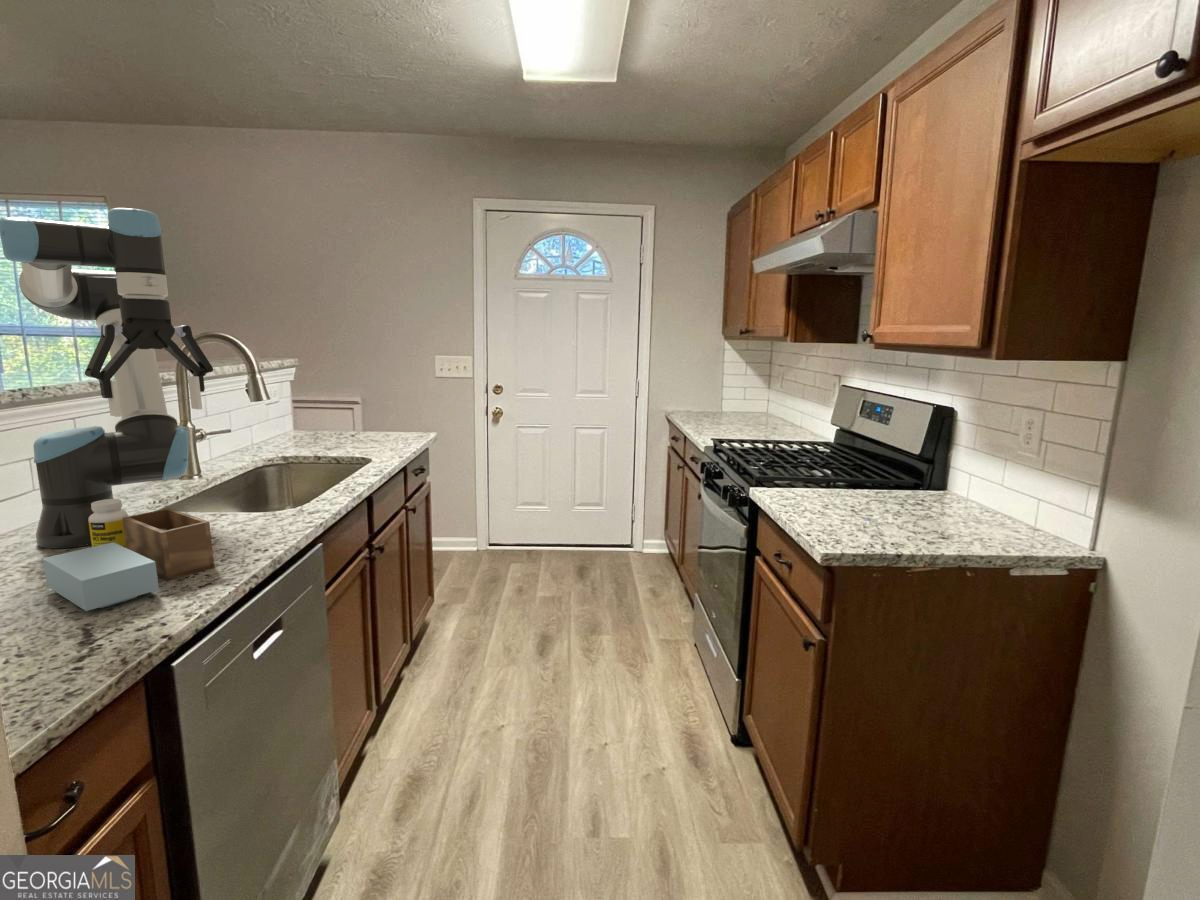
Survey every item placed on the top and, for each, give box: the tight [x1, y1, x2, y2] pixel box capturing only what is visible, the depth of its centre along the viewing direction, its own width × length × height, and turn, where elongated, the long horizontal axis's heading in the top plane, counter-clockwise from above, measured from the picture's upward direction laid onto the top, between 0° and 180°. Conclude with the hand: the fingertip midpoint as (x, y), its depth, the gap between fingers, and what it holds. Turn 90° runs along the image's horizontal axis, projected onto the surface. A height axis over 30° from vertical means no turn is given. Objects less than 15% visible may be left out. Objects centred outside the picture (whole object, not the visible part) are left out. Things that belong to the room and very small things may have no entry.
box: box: [123, 507, 215, 582], centre depth 117 cm, size 16×8×9 cm, turn 57°
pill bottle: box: [88, 498, 129, 548], centre depth 122 cm, size 6×6×11 cm
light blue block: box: [42, 542, 160, 612], centre depth 104 cm, size 17×10×6 cm, turn 57°
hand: (158, 412), depth 118 cm, fingers open, 13 cm apart
